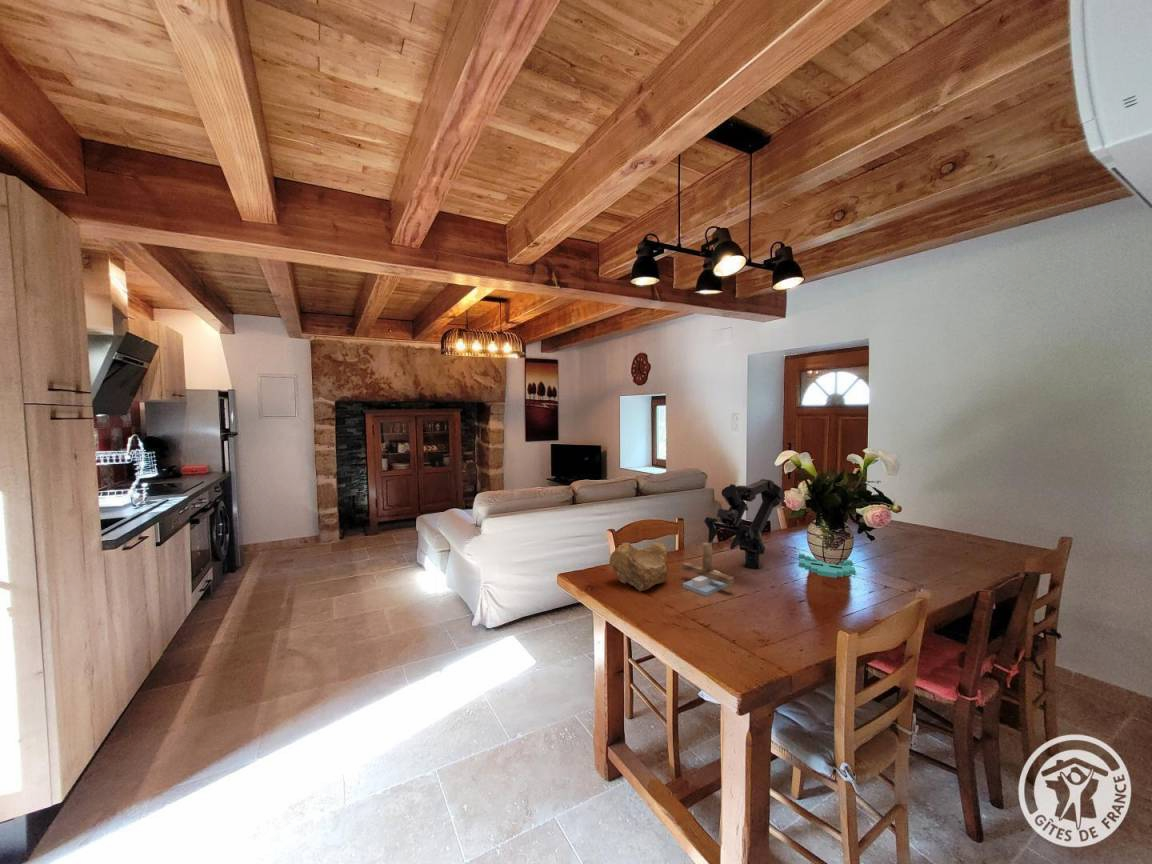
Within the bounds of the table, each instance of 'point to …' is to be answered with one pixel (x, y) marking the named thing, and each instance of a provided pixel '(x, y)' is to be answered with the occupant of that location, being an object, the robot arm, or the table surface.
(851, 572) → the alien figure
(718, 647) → the table surface
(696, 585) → the stand
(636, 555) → the rough brown rock
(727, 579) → the wooden bar with post
